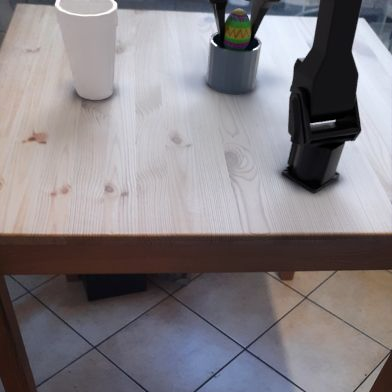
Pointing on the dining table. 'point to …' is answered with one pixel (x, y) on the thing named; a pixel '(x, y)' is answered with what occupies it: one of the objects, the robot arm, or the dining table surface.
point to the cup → (232, 66)
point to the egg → (237, 30)
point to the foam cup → (89, 44)
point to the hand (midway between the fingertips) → (235, 41)
